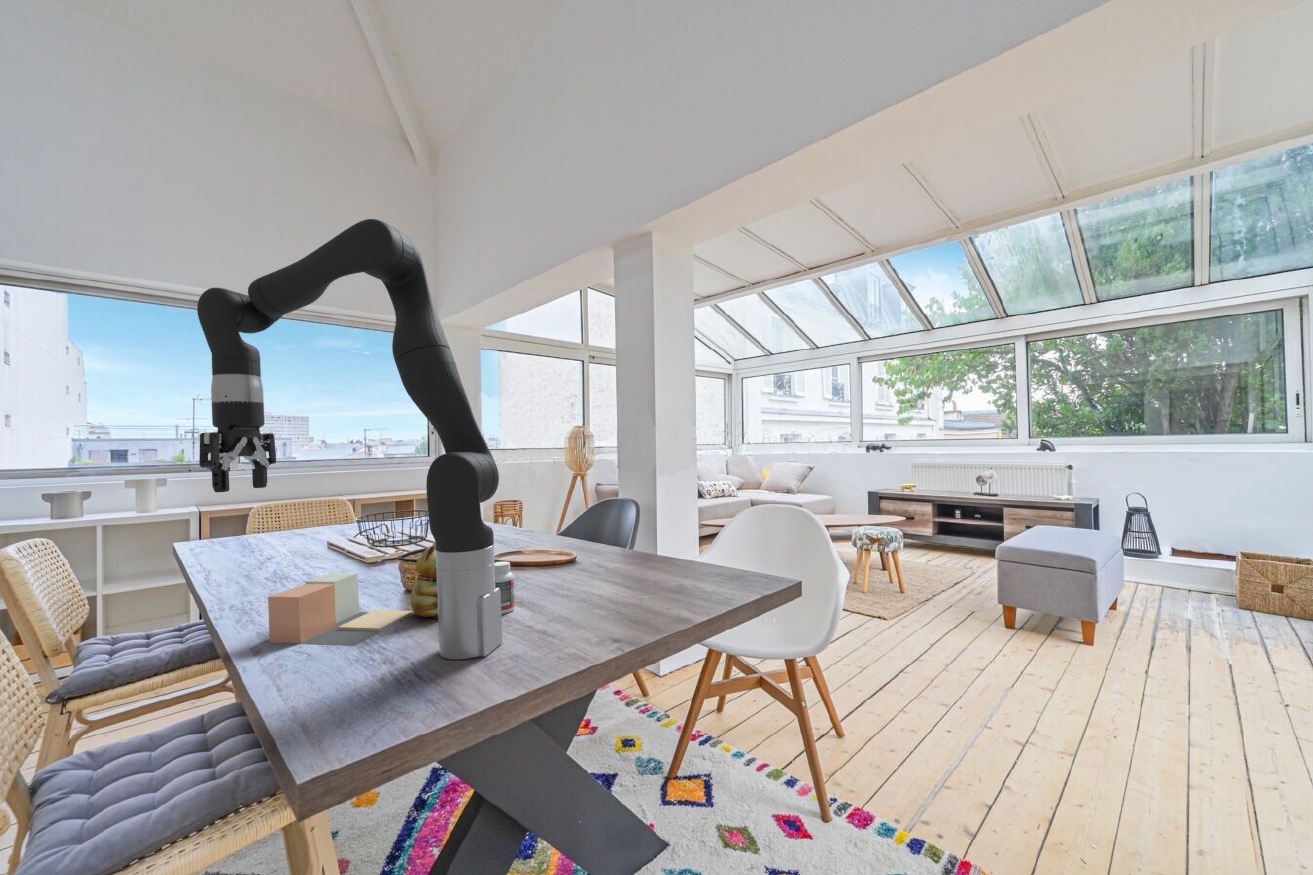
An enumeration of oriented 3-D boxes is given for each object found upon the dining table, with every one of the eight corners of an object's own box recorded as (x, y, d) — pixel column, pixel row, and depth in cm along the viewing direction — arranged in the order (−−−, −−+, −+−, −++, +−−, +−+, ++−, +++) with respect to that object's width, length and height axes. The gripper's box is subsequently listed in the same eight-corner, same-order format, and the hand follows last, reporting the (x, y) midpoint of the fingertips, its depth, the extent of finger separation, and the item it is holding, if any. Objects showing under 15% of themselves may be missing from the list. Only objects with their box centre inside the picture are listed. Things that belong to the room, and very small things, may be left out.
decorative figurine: (443, 623, 104) (440, 546, 104) (401, 624, 104) (398, 547, 104) (461, 607, 113) (459, 537, 113) (423, 609, 113) (420, 538, 113)
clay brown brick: (336, 627, 103) (334, 584, 103) (300, 643, 94) (298, 597, 94) (307, 626, 104) (305, 584, 104) (269, 642, 96) (268, 596, 96)
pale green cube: (358, 612, 111) (357, 573, 111) (335, 623, 105) (333, 581, 105) (331, 612, 112) (330, 573, 112) (307, 622, 106) (305, 581, 106)
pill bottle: (518, 611, 109) (516, 563, 109) (492, 617, 106) (490, 568, 106) (510, 605, 114) (508, 559, 114) (484, 610, 111) (482, 563, 111)
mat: (415, 615, 109) (414, 611, 109) (354, 647, 92) (354, 642, 92) (333, 613, 113) (333, 609, 113) (260, 644, 96) (260, 639, 96)
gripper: (225, 397, 90) (228, 493, 90) (286, 402, 104) (290, 485, 104) (182, 399, 91) (186, 494, 90) (249, 404, 105) (252, 487, 105)
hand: (241, 489), depth 97 cm, fingers open, 8 cm apart
